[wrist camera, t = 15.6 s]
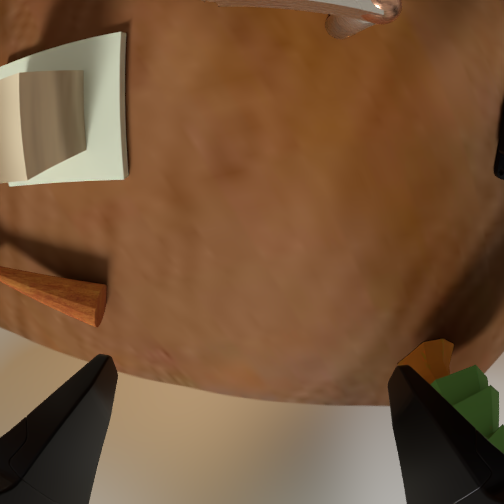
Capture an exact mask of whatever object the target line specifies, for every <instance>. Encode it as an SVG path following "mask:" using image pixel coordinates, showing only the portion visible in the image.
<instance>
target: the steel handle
mask: <svg viewBox="0 0 504 504" xmlns="http://www.w3.org/2000/svg"><path fill="white" fill-rule="evenodd" d="M202 1H203V2H205V1H209V2H216V3H217V5H218V7H267V8H281V9H292V10H302V11H310V12H317V13H324V14H331V15H330V16H329V17H328V18H327V20H326V22H325V27H326V30H327V32H328V33H329V34H330V35H331V36H332V37H334V38H337V39H346V38H348V37H350V36H352V35H354V34H356V33H358V32H360V31H362V30H364V29H366V28H368V27H370V26H372V25H374V24H387V23H390V22H392V21H394V20H395V19H396V18H397V17H398V16H399V15H400V13H401V9H402V2H401V0H202Z"/></svg>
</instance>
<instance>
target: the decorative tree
mask: <svg viewBox="0 0 504 504" xmlns="http://www.w3.org/2000/svg"><path fill="white" fill-rule="evenodd" d="M453 347H454V344H453V343H451V342H449V341H447V340H445V339H438V340H432V341H427V342H423V343H422V344H420V345H419V346H418V347H417V348H416V349H415V350H413V351H412V352H411V353H410V354H409V355H408V356H406V357H405V358H404V359H403V360H401V361H400V362H399V363H398V365H409V366H411V367H412V368H413V369H414V370H415V371H416V372H417V373H418V374H419V375H420V376H422V377H423V378H424V379H425V380H426V381H427V382H428V383H429V384H430V385H431V386H432V387H433V388H434V389H435V390H436V391H437V392H438V393H440V394H441V395H442V396H443V397H444V398H445V399H446V400H447V401H448V402H449V403H450V404H451V405H452V406H453V407H454V408H455V409H456V410H457V411H458V412H459V413H460V414H461V415H462V416H463V417H464V418H466V419H467V420H468V421H469V422H470V423H471V424H472V425H473V426H474V427H475V428H476V430H478V431H479V432H480V433H481V434H482V435H483V436H484V437H485V438H486V439H487V440H488V441H489V442H491V443H492V444H493V445H494V446H495V447H496V448H498V449H499V450H500V451H501V452H502V453H504V425H502V426H500V427H499V392H498V391H497V390H495V389H494V388H493V387H492V386H491V385H490V386H488V380H487V377H486V376H485V375H484V373H483V372H482V371H481V370H480V369H479V368H478V367H477V366H476V365H474V366H472V367H469V368H466V369H464V370H461V371H459V372H456V373H453V374H450V370H449V364H450V360H451V356H452V351H453Z"/></svg>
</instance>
